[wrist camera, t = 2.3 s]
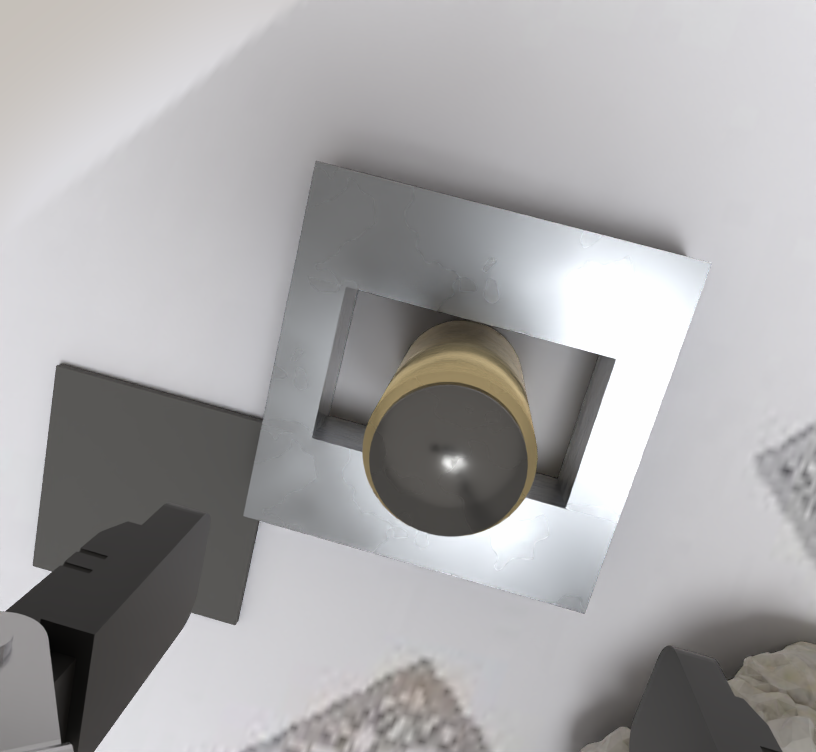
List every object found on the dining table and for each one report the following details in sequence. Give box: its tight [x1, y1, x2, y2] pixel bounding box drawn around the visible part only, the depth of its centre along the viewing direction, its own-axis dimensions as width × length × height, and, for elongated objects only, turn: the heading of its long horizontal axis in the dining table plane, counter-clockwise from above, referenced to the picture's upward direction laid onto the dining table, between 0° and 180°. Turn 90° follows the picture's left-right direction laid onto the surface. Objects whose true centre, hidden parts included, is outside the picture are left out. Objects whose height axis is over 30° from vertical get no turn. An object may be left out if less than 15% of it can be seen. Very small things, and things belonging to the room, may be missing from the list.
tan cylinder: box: [362, 320, 538, 537], centre depth 24 cm, size 5×5×10 cm
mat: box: [33, 364, 263, 625], centre depth 31 cm, size 10×10×1 cm
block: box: [243, 161, 712, 614], centre depth 27 cm, size 14×14×3 cm
